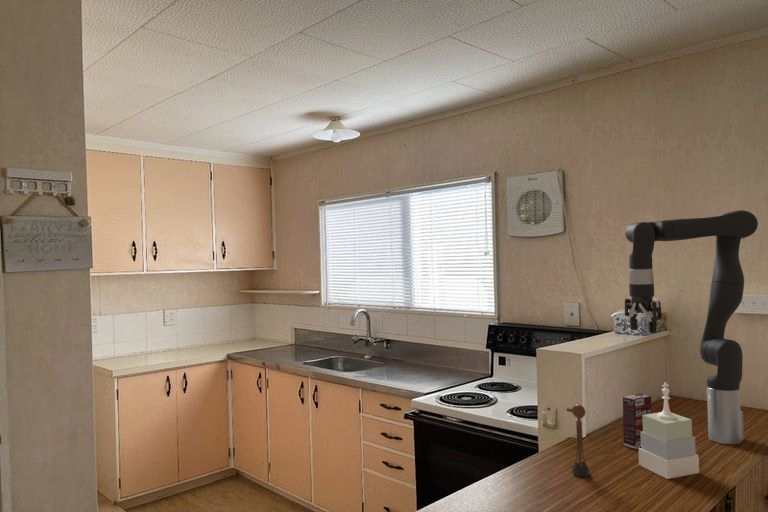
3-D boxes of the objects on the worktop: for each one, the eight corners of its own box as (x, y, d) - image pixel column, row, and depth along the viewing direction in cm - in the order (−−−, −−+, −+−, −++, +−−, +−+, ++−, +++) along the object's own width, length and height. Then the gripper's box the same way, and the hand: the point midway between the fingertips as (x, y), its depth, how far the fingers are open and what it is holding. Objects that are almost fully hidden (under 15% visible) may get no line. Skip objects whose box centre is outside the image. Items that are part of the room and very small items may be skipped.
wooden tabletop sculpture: (565, 472, 164) (563, 404, 164) (573, 468, 167) (571, 400, 167) (584, 478, 160) (582, 407, 160) (592, 473, 163) (590, 404, 163)
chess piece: (653, 415, 166) (652, 381, 166) (670, 414, 166) (668, 380, 166) (663, 420, 161) (661, 385, 161) (679, 419, 162) (678, 384, 161)
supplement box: (636, 449, 180) (634, 400, 180) (623, 445, 184) (621, 396, 184) (653, 444, 184) (652, 395, 184) (640, 440, 188) (638, 392, 188)
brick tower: (669, 459, 171) (667, 409, 171) (699, 472, 160) (697, 420, 160) (638, 464, 168) (637, 414, 168) (667, 478, 157) (665, 425, 157)
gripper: (667, 282, 182) (668, 333, 182) (635, 280, 196) (637, 327, 196) (647, 284, 180) (649, 335, 180) (617, 282, 194) (618, 329, 194)
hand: (643, 331), depth 188 cm, fingers open, 8 cm apart
